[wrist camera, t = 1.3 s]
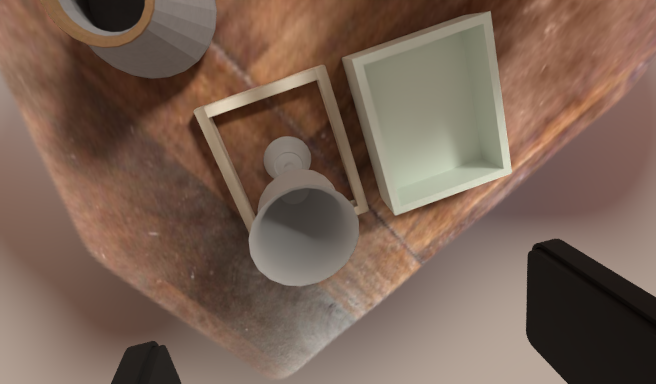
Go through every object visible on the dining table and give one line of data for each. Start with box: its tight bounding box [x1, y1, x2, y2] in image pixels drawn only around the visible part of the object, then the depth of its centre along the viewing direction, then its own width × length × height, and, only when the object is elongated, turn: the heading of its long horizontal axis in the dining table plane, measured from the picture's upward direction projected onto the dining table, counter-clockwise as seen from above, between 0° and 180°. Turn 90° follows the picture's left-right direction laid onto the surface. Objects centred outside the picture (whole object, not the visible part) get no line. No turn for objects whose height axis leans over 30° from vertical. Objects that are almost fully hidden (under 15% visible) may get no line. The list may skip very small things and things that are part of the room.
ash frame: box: [194, 65, 369, 234], centre depth 40 cm, size 13×16×2 cm
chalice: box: [249, 136, 359, 286], centre depth 33 cm, size 7×7×18 cm
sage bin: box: [341, 11, 512, 216], centre depth 39 cm, size 13×16×5 cm
